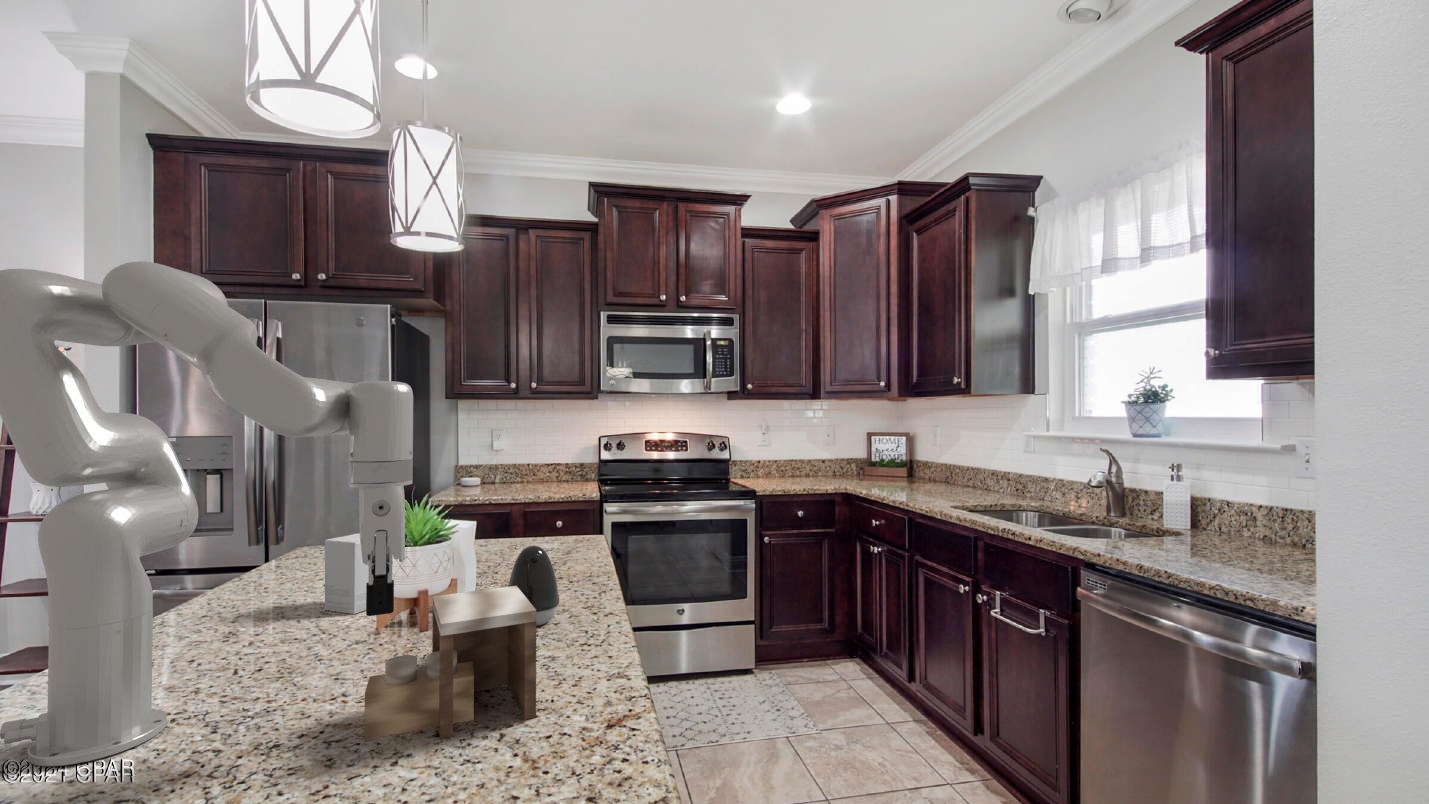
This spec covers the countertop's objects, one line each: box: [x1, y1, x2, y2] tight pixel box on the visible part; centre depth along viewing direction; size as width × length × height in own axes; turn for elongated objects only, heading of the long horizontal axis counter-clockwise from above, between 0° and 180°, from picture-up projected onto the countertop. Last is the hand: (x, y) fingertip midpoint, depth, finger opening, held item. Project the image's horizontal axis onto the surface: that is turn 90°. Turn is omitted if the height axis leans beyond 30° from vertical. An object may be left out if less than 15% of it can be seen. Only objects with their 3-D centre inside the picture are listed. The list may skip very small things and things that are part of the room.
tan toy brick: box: [363, 650, 475, 740], centre depth 85 cm, size 13×6×8 cm, turn 113°
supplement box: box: [324, 532, 376, 615], centre depth 136 cm, size 9×9×15 cm
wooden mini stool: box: [431, 586, 537, 740], centre depth 89 cm, size 12×14×14 cm
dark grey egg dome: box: [507, 545, 560, 627], centre depth 125 cm, size 10×10×15 cm
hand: (379, 612), depth 83 cm, fingers closed
